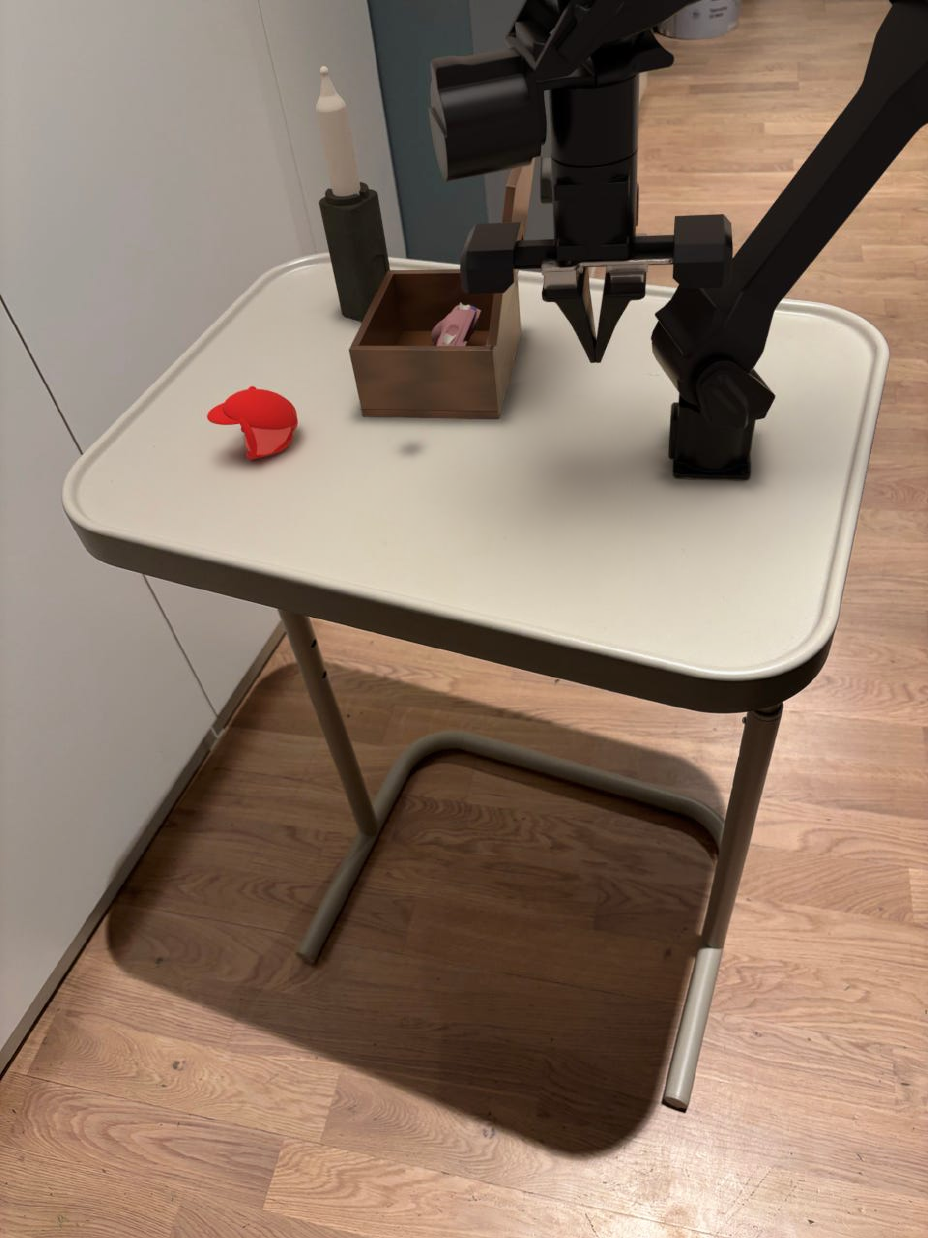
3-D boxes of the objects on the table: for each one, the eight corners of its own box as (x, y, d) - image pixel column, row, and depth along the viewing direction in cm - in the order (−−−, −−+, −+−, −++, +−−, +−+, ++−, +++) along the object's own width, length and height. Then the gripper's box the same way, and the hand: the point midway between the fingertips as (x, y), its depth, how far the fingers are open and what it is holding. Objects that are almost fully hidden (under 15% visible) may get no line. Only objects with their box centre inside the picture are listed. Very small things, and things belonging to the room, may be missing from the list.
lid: (505, 185, 73) (515, 186, 73) (532, 112, 84) (540, 114, 84) (487, 345, 84) (496, 346, 84) (513, 263, 94) (520, 264, 94)
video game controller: (447, 408, 93) (471, 352, 88) (404, 388, 92) (427, 331, 87) (469, 354, 99) (494, 300, 94) (430, 336, 99) (452, 280, 94)
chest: (362, 416, 92) (348, 349, 87) (398, 333, 103) (387, 269, 97) (498, 418, 90) (492, 350, 84) (521, 333, 100) (517, 267, 95)
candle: (366, 295, 110) (321, 55, 92) (400, 304, 107) (360, 59, 89) (337, 315, 107) (285, 72, 89) (371, 324, 105) (325, 77, 87)
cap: (282, 416, 94) (267, 362, 89) (313, 440, 90) (299, 386, 86) (211, 450, 91) (192, 397, 87) (241, 477, 87) (222, 423, 83)
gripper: (736, 97, 65) (717, 305, 77) (473, 113, 69) (492, 310, 80) (742, 161, 58) (721, 381, 69) (447, 176, 61) (471, 383, 73)
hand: (596, 360), depth 73 cm, fingers closed
